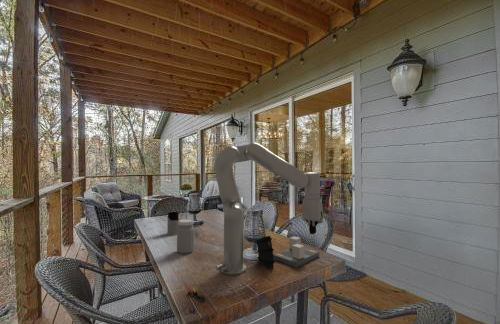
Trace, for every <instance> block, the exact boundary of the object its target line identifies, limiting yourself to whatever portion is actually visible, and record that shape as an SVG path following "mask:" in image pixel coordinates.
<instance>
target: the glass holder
mask: <svg viewBox="0 0 500 324" xmlns="http://www.w3.org/2000/svg"><path fill="white" fill-rule="evenodd" d="M183 215H185V216H186V217H185V219H188V216H187V214H186V213H182V214H181V215H180V214H179V212H178V211H171V212H168V213H167V232H166V236H177V229H178V228H179V227H178V226H179V224H178V221H179V220H182V216H183ZM179 216H180V219H179Z"/></svg>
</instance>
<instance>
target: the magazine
mask: <svg viewBox="0 0 500 324" xmlns="http://www.w3.org/2000/svg"><path fill="white" fill-rule="evenodd" d="M256 240H257V241H256V242H255V245H257V251H256V253H257V255H258V257H257V258H256V259H258V262H259V263H260V264H261V265H262V266H263V267H265V268H266V269H268V270H271V269H274V268H275V267H274V264H275V263H276V262H275V261H276V260H274V259H273V255H274V251H275V250H274V248H273V244H272V243H273V242H272V240H273V239H272V237H271V235H267V236H263V237H260V238H259V239H256Z"/></svg>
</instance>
